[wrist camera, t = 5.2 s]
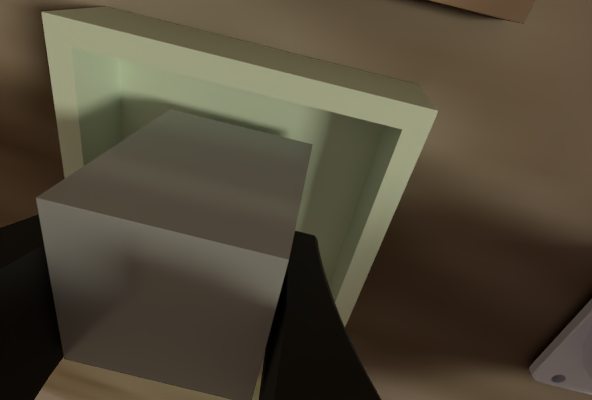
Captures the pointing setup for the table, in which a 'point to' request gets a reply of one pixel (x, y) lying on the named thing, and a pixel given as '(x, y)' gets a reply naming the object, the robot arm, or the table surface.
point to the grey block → (175, 251)
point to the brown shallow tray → (494, 8)
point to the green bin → (247, 117)
